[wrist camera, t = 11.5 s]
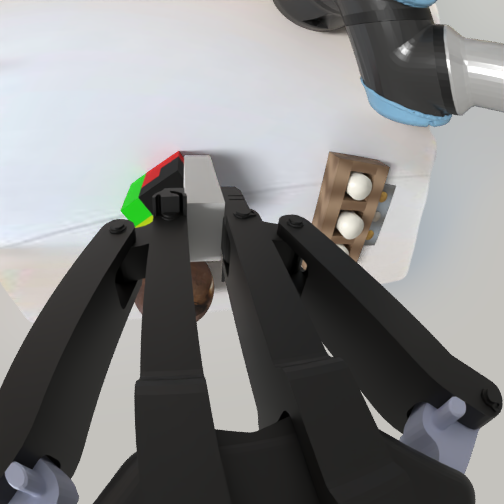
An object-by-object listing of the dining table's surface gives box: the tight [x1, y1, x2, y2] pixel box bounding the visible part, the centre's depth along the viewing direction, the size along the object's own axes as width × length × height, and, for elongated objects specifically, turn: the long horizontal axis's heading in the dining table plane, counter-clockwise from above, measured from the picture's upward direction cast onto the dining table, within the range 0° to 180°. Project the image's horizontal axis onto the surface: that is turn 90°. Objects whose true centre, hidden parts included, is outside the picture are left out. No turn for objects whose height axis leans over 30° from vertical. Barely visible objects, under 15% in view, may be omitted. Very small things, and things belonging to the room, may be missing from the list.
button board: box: [302, 152, 396, 270], centre depth 56 cm, size 26×19×4 cm
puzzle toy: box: [121, 151, 184, 228], centre depth 42 cm, size 10×10×10 cm
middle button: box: [335, 210, 364, 239], centre depth 54 cm, size 5×5×4 cm
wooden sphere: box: [135, 261, 214, 322], centre depth 49 cm, size 15×15×15 cm
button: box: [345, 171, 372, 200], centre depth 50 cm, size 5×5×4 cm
